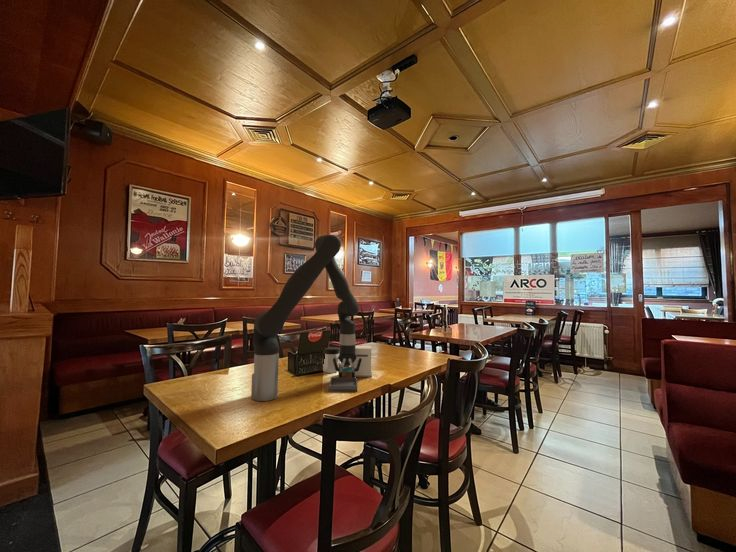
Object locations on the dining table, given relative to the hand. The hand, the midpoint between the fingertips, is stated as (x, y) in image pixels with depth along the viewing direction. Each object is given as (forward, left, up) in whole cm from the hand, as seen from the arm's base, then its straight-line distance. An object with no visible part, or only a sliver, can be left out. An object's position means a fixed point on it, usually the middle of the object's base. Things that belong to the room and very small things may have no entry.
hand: (347, 379), depth 141 cm
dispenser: (+7, +10, -1) cm, 12 cm away
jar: (-9, +18, -1) cm, 20 cm away
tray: (-1, -9, -1) cm, 9 cm away
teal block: (0, 0, -1) cm, 1 cm away
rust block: (-2, +9, -1) cm, 9 cm away
